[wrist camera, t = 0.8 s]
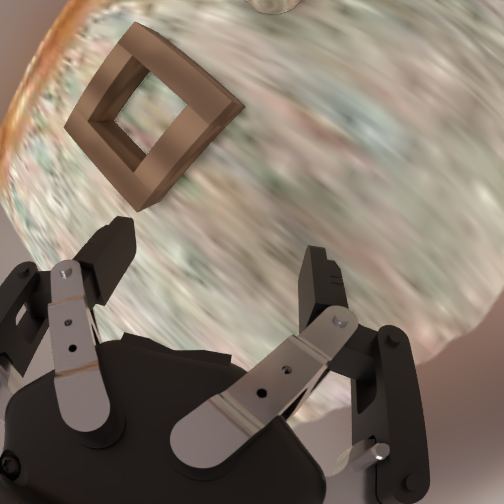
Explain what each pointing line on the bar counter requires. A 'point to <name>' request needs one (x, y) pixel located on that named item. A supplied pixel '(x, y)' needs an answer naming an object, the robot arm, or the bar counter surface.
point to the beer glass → (273, 5)
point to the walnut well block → (174, 138)
